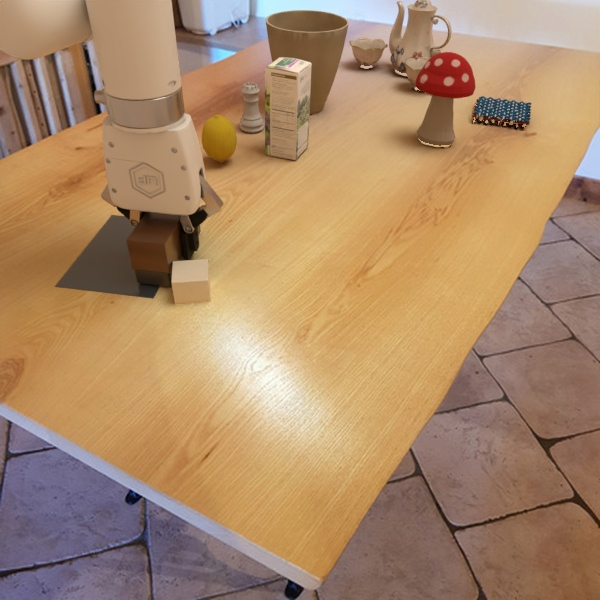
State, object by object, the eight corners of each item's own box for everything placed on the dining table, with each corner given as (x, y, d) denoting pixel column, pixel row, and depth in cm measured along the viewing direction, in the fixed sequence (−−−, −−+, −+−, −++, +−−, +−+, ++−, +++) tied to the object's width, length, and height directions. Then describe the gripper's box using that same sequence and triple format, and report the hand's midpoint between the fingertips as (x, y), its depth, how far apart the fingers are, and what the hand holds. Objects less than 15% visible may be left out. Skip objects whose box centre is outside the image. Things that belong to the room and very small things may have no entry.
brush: (171, 287, 63) (164, 244, 59) (135, 282, 64) (125, 240, 60) (202, 230, 72) (197, 190, 68) (170, 227, 73) (163, 187, 69)
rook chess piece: (238, 124, 102) (236, 80, 96) (262, 123, 102) (261, 79, 97) (241, 134, 98) (238, 89, 93) (265, 133, 99) (264, 88, 94)
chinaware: (335, 73, 129) (334, -5, 118) (382, 51, 137) (386, -23, 125) (430, 107, 114) (440, 22, 102) (478, 82, 121) (492, -1, 109)
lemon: (214, 173, 87) (210, 124, 82) (198, 160, 90) (192, 112, 85) (244, 164, 90) (241, 116, 84) (227, 152, 93) (223, 105, 88)
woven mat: (475, 103, 112) (477, 93, 110) (529, 111, 109) (532, 101, 108) (469, 123, 104) (471, 112, 103) (527, 131, 101) (530, 120, 100)
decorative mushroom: (469, 140, 98) (490, 52, 88) (452, 157, 93) (471, 65, 83) (418, 127, 102) (432, 41, 92) (398, 143, 97) (411, 53, 87)
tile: (56, 293, 64) (53, 286, 63) (113, 220, 76) (111, 214, 75) (154, 305, 63) (153, 298, 62) (196, 229, 75) (195, 223, 74)
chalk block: (176, 310, 62) (171, 282, 59) (177, 288, 65) (172, 261, 62) (211, 307, 62) (208, 280, 60) (211, 285, 65) (207, 258, 63)
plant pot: (266, 122, 102) (264, 30, 92) (267, 94, 114) (266, 9, 103) (346, 123, 103) (353, 31, 93) (339, 94, 114) (344, 10, 104)
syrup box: (278, 142, 96) (277, 55, 87) (309, 148, 95) (312, 60, 85) (264, 155, 92) (262, 66, 83) (297, 161, 91) (298, 71, 81)
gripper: (50, 112, 54) (92, 262, 66) (216, 126, 52) (229, 278, 64) (84, 86, 59) (118, 228, 71) (236, 98, 58) (244, 242, 69)
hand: (170, 250), depth 67 cm, fingers closed on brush, 4 cm apart
